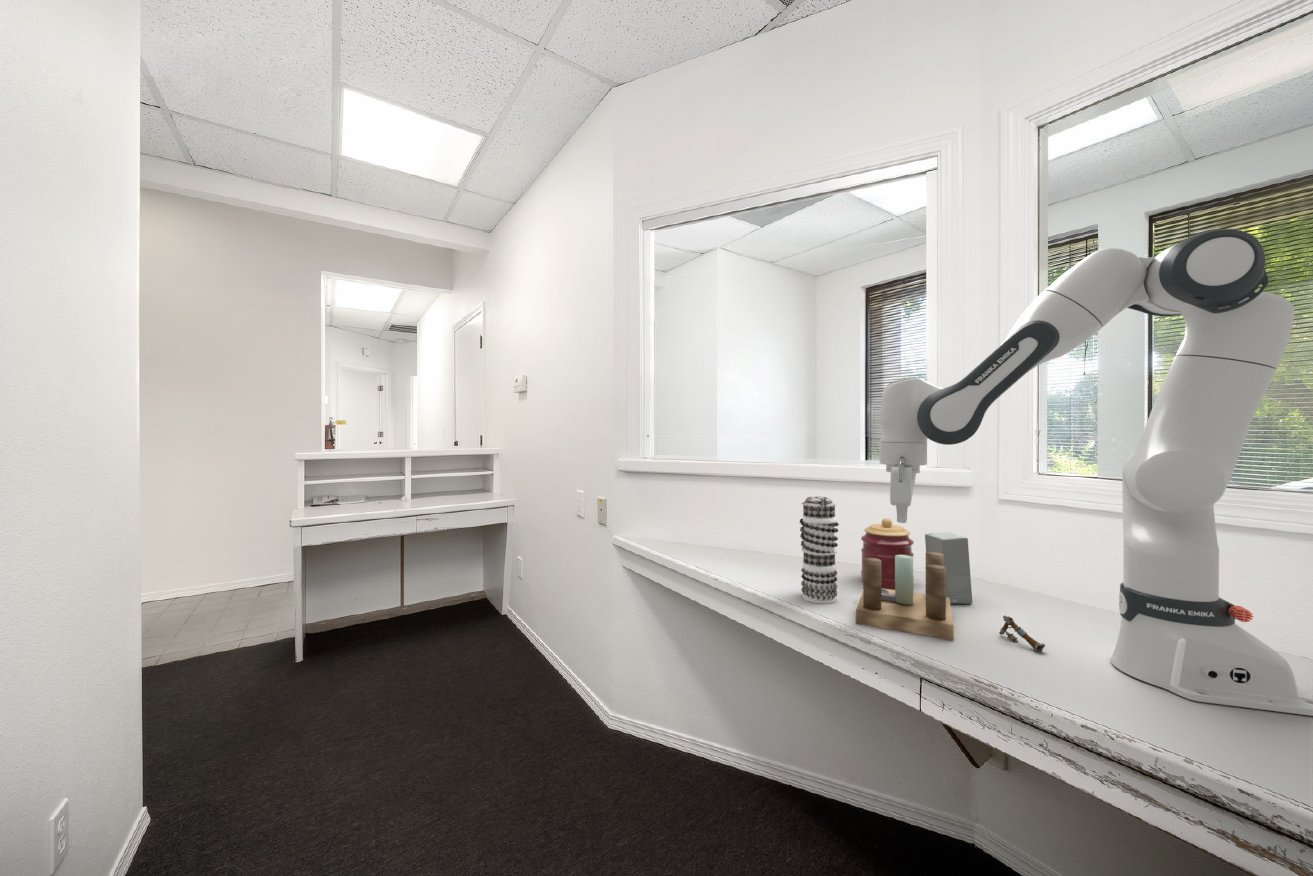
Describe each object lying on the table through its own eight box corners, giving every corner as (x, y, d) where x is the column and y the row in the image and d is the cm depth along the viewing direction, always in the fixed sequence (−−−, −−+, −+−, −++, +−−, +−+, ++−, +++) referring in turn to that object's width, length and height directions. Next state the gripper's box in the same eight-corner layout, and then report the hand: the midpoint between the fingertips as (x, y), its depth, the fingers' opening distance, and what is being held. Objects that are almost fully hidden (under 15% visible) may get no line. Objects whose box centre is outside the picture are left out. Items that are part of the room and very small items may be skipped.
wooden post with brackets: (1000, 629, 99) (1008, 612, 97) (1036, 661, 92) (1046, 643, 90) (993, 630, 99) (1001, 613, 97) (1028, 662, 92) (1038, 645, 90)
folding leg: (913, 600, 109) (913, 556, 109) (913, 605, 106) (913, 559, 106) (869, 594, 113) (869, 551, 113) (867, 598, 110) (867, 554, 110)
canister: (920, 592, 125) (919, 523, 124) (865, 588, 128) (865, 521, 127) (906, 577, 137) (906, 515, 137) (857, 574, 140) (857, 513, 140)
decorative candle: (825, 607, 114) (825, 501, 114) (792, 597, 122) (792, 497, 121) (846, 598, 120) (846, 498, 120) (813, 589, 127) (813, 494, 127)
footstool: (949, 610, 112) (949, 552, 112) (953, 640, 96) (953, 572, 96) (864, 598, 120) (864, 544, 120) (855, 623, 105) (855, 561, 104)
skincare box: (973, 604, 115) (973, 538, 115) (942, 604, 115) (942, 538, 115) (952, 593, 124) (952, 531, 124) (923, 593, 124) (923, 531, 124)
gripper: (919, 459, 91) (918, 532, 91) (920, 454, 109) (919, 515, 109) (882, 458, 94) (881, 529, 94) (889, 453, 112) (888, 513, 112)
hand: (901, 521), depth 102 cm, fingers closed
